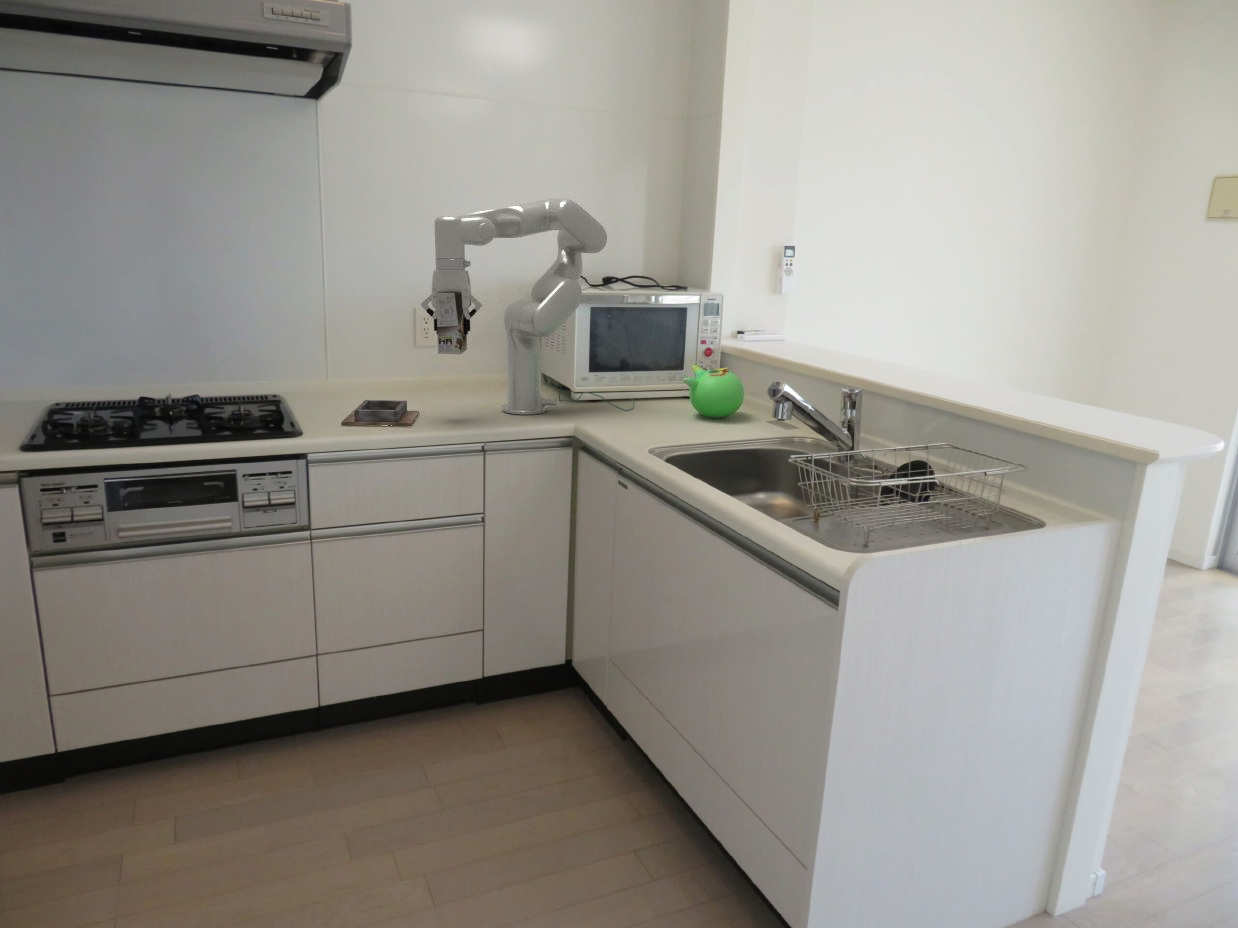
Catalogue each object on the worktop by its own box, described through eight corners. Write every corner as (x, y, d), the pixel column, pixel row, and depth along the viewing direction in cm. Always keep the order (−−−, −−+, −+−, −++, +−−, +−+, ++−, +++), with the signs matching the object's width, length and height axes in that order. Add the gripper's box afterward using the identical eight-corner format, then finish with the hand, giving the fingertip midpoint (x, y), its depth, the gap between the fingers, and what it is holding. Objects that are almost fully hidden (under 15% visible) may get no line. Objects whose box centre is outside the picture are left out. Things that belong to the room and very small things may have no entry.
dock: (419, 414, 252) (419, 400, 251) (411, 426, 237) (410, 411, 236) (354, 413, 251) (353, 399, 250) (341, 425, 235) (340, 410, 234)
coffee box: (461, 354, 236) (460, 292, 232) (437, 354, 237) (435, 292, 232) (467, 349, 245) (466, 289, 241) (444, 349, 245) (442, 289, 241)
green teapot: (740, 425, 252) (743, 373, 248) (680, 420, 255) (682, 369, 251) (744, 412, 269) (747, 364, 265) (688, 408, 272) (690, 360, 268)
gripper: (484, 265, 239) (486, 332, 244) (418, 264, 238) (421, 331, 243) (482, 266, 232) (484, 336, 237) (414, 265, 231) (417, 335, 235)
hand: (452, 333), depth 240 cm, fingers closed on coffee box, 6 cm apart
